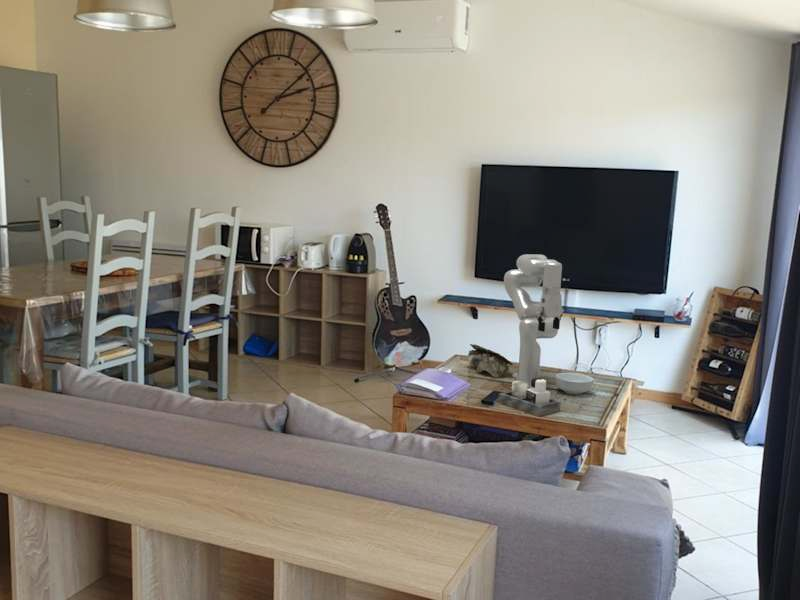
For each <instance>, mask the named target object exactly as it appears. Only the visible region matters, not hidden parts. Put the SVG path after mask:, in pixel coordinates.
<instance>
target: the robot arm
mask: <svg viewBox="0 0 800 600" xmlns="http://www.w3.org/2000/svg"><path fill="white" fill-rule="evenodd" d="M516 267H517V269H510V270H508V271H507V272H505V274H504V275H503V276H504V277H503V285H504V290H505V291H506V293H507V295H508V297H509V298H510V299H511V301H512V304H513V307H514V309H515V312H516V315H517V317H518V319H519V320H520V322H519V324H518V331H519V332H518V333H519V356H518V357H519V358H518V371H517V372H514V373H513V374H512V378H515V381H524V382H527V389H531V380H532V379H534V378H540V370H541V369H540V368H541V367H540V366H541V351H542V350H541V346H540V344H539V342H538V341H537V339H538V340H539V339H553V338H555V337H556V336H557V335H558V331H559V330H560V323H561V320H562V317H563V313H564V312H565V310H564V308H563V299H562V294H561V288H562V287H561V286H562V285H561V284H562V271H563V264H562V263H561V262H558V261H557V260H555V259H548V257H547V256H546V255H544V254H538V253H537V254H530V253H529V254H527V253H526V254H522V255H520V256H518V258H517V259H516ZM541 284H542V291H541V292H542V293H541V297H540V301H536V300H535V301H534V300H532V298H531V296H530V294H529V293H528V292H527V291H526V289H524V288H536V287H540V286H541Z"/></svg>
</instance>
